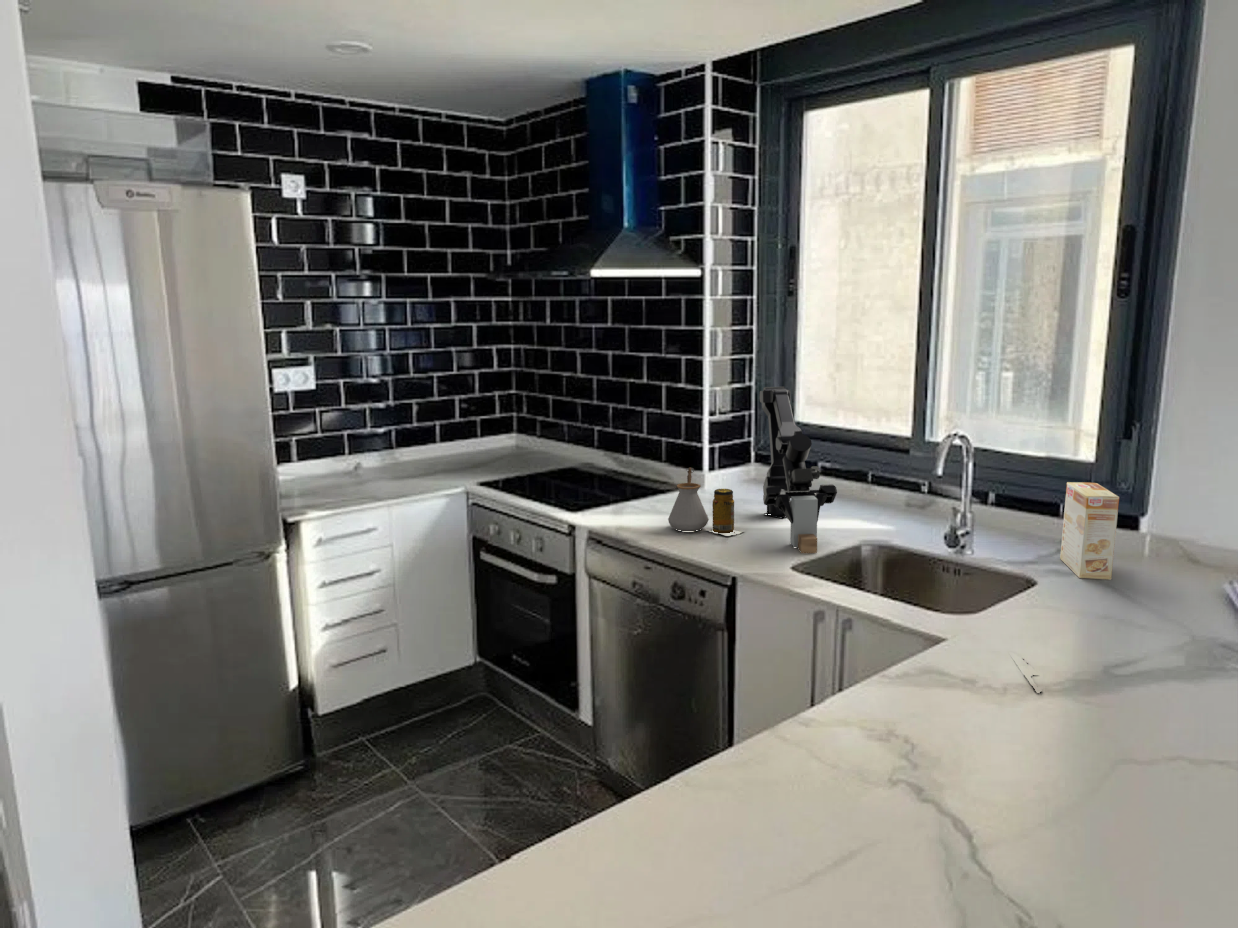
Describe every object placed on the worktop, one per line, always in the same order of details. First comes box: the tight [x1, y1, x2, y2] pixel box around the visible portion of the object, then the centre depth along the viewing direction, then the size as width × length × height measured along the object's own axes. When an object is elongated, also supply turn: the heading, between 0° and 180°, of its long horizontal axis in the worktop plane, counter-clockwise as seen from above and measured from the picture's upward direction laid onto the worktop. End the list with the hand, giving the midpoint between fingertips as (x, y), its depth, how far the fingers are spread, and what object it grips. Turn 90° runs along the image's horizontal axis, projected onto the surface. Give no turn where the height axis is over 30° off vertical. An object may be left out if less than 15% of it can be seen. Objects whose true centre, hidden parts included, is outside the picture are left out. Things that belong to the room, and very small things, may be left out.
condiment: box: [711, 488, 735, 533], centre depth 236 cm, size 7×8×12 cm
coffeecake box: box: [1059, 481, 1120, 581], centre depth 198 cm, size 15×7×20 cm, turn 168°
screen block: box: [789, 496, 818, 548], centre depth 222 cm, size 4×6×13 cm, turn 91°
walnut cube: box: [797, 534, 818, 554], centre depth 219 cm, size 4×4×4 cm
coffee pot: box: [667, 466, 710, 531], centre depth 245 cm, size 21×12×15 cm, turn 173°
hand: (804, 522), depth 221 cm, fingers closed on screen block, 6 cm apart
